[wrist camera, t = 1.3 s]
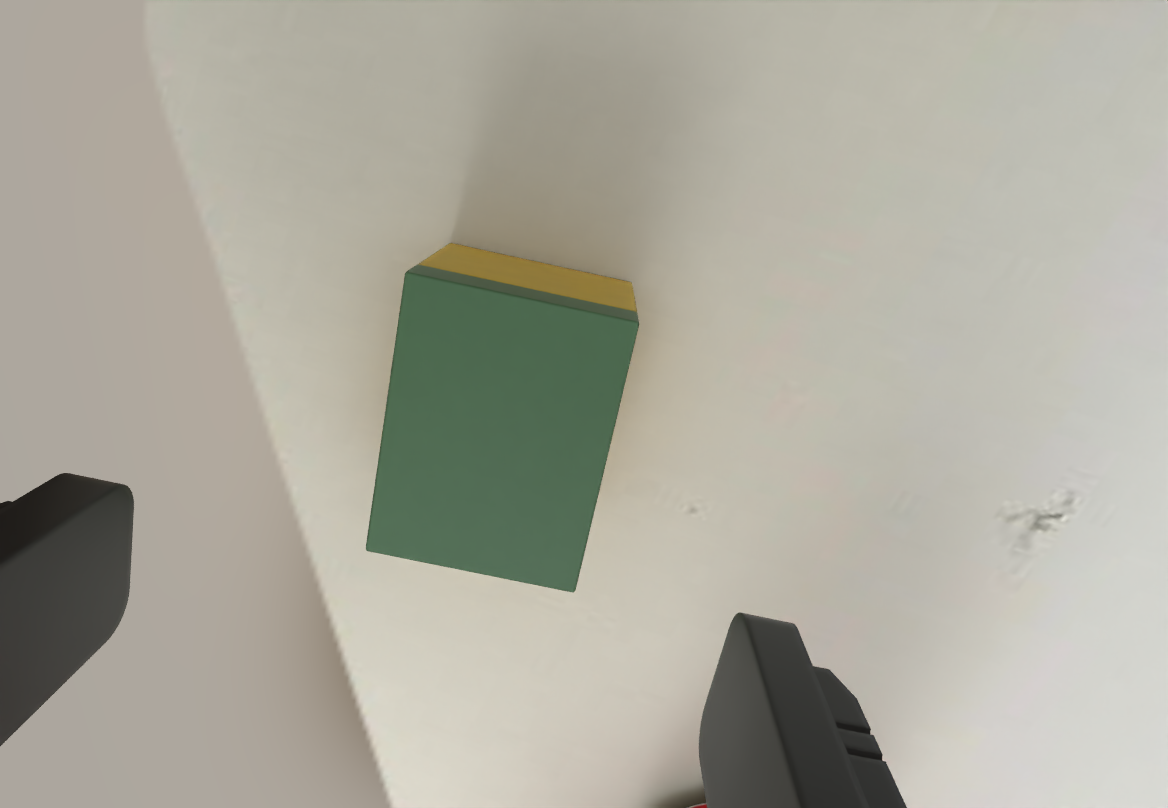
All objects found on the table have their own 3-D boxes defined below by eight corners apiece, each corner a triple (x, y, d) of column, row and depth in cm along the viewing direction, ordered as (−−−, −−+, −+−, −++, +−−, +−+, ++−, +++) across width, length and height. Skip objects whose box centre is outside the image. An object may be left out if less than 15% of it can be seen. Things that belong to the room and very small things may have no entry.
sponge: (449, 242, 19) (405, 271, 15) (632, 281, 20) (640, 321, 15) (413, 468, 21) (365, 551, 17) (580, 502, 21) (575, 593, 17)
